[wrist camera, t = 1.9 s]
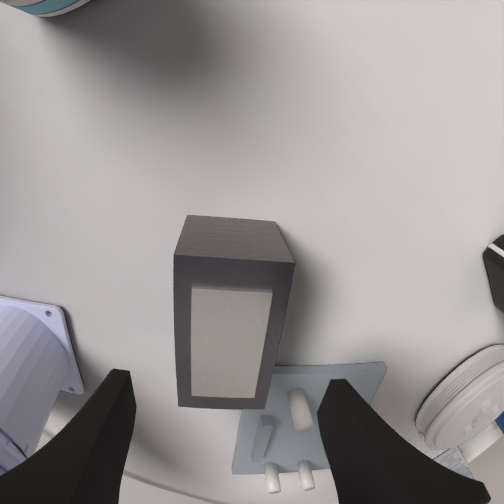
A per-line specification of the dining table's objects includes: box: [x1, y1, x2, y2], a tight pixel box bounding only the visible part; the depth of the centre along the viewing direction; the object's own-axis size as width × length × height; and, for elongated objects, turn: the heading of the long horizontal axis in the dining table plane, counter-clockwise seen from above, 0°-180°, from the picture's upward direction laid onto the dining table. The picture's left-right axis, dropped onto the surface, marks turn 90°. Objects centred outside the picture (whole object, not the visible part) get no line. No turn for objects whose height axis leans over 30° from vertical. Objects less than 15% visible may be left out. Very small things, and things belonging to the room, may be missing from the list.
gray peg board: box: [232, 362, 387, 494], centre depth 22 cm, size 10×15×4 cm, turn 173°
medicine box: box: [433, 446, 476, 480], centre depth 29 cm, size 8×4×9 cm, turn 35°
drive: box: [174, 215, 295, 409], centre depth 15 cm, size 4×8×5 cm, turn 174°
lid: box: [416, 344, 504, 450], centre depth 23 cm, size 13×13×5 cm
